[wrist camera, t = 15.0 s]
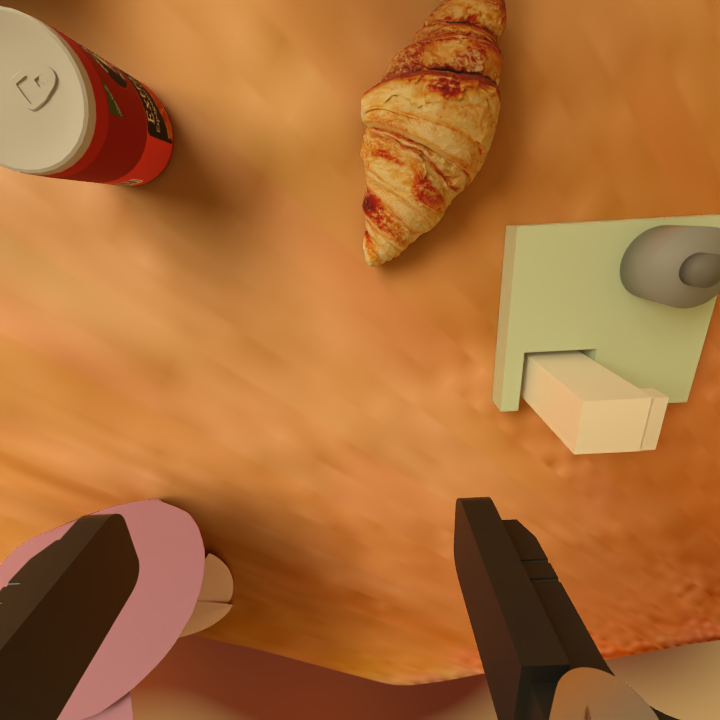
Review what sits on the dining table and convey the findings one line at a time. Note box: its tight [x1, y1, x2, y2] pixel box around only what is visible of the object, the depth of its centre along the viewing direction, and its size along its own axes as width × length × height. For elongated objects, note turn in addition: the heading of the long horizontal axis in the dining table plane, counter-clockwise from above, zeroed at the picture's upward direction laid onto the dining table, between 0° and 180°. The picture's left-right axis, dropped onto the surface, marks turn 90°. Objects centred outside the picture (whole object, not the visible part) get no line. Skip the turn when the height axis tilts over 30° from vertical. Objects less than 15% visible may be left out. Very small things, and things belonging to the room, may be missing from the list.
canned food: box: [0, 6, 174, 186], centre depth 26 cm, size 8×8×11 cm
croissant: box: [360, 0, 507, 267], centre depth 29 cm, size 21×10×8 cm, turn 159°
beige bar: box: [520, 350, 669, 454], centre depth 33 cm, size 4×6×11 cm
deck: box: [492, 214, 720, 411], centre depth 33 cm, size 17×18×8 cm
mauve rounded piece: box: [0, 498, 233, 720], centre depth 36 cm, size 35×24×28 cm
